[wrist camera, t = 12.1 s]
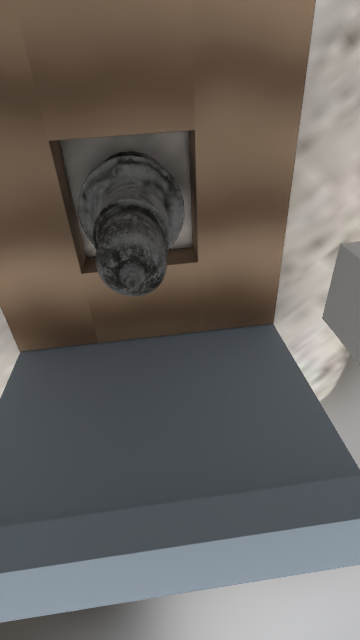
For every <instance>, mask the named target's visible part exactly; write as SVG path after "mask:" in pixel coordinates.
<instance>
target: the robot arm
mask: <svg viewBox="0 0 360 640" xmlns="http://www.w3.org/2000/svg"><path fill="white" fill-rule="evenodd" d="M322 318H323V320H324V321H325V322H326V323H327V325H328V326H329V327H330V328H331V330H332V331H333V332H334V333H335V335H336V336H337V337H338V338H339V339H340V341H341V342H342V343H343V344H344V346H345V347H346V348H347V349H348V351H349V352H350V353H351V354H352V355H353V357H354V358H355V359H356V360H357V362H358V363H359V364H360V242H351V243H341V244H340V247H339V251H338V255H337V259H336V264H335V268H334V272H333V276H332V280H331V284H330V288H329V292H328V296H327V301H326V305H325V309H324V313H323V317H322Z"/></svg>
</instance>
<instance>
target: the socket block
mask: <svg viewBox="0 0 360 640" xmlns="http://www.w3.org/2000/svg"><path fill="white" fill-rule="evenodd" d="M315 3H316V0H0V307H1V309H2V311H3V314H4V316H5V318H6V321H7V323H8V325H9V328H10V330H11V332H12V335H13V337H14V339H15V342H16V344H17V346H18V349H19V351H20V352H22V351H31V350H40V349H48V348H57V347H66V346H75V345H84V344H93V343H102V342H111V341H120V340H129V339H138V338H147V337H156V336H165V335H174V334H183V333H192V332H201V331H209V330H218V329H227V328H236V327H245V326H254V325H263V324H272V323H274V315H275V308H276V300H277V292H278V285H279V277H280V269H281V262H282V254H283V247H284V239H285V231H286V224H287V216H288V208H289V201H290V193H291V186H292V178H293V170H294V163H295V155H296V147H297V140H298V132H299V125H300V117H301V109H302V102H303V94H304V86H305V79H306V71H307V64H308V56H309V48H310V41H311V33H312V25H313V18H314V10H315ZM175 131H189V153H190V183H191V212H192V242H193V248H183V249H173V250H168V252H167V254H166V257H167V270H166V274H165V277H164V279H163V281H162V283H161V284H160V285H159V286H158V287H157V288H156V289H155V290H153V291H152V292H150V293H148V294H145V295H143V296H135V297H131V296H124V295H121V294H118V293H116V292H114V291H113V290H111V289H110V288H108V287H107V286H106V285H105V283H104V282H103V281H102V279H101V278H100V276H99V274H98V270H97V266H96V257H89V258H86V256H85V252H84V247H83V243H82V239H81V235H80V230H79V226H78V222H77V217H76V213H75V209H74V204H73V200H72V196H71V191H70V187H69V183H68V178H67V174H66V170H65V165H64V161H63V157H62V153H61V148H60V144H59V140H67V139H80V138H94V137H107V136H121V135H135V134H148V133H162V132H175Z"/></svg>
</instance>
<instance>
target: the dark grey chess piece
mask: <svg viewBox="0 0 360 640" xmlns="http://www.w3.org/2000/svg"><path fill="white" fill-rule="evenodd" d="M78 213H79V217H80V221H81V225H82V227H83V229H84V231H85V233H86V235H87V237H88V238H89V240H90V241H91V242H92V243H93V244H94V245H95V248H96V250H97V252H96V266H97V270H98V274H99V276H100V278H101V279H102V281H103V282H104V283H105V285H106V286H107V287H108V288H110V289H111V290H113V291H114V292H116V293H118V294H121V295H124V296H131V297H135V296H143V295H145V294H148V293H150V292H152V291H153V290H155V289H156V288H157V287H158V286H159V285H160V284H161V283H162V281H163V279H164V277H165V274H166V270H167V257H166V254H167V252H168V250H169V247H170V246H171V245H172V244H173V243H174V242H175V240H176V239H177V237H178V235H179V233H180V231H181V229H182V225H183V220H184V201H183V198H182V195H181V192H180V189H179V187H178V185H177V184H176V182H175V181H174V179H173V177H172V176H171V175H170V174H169V173H168V172H167V171H166V170H165V169H164V168H163V167H162V166H161V165H160V164H158V163H157V162H156V161H155V160H154V159H152V158H150V157H148V156H146V155H144V154H141V153H136V152H122V153H118V154H116V155H113V156H111V157H109V158H108V159H107V160H105V161H104V162H103V163H101V164H100V165H99V166H98V167H96V168H95V169H94V170H93V171H91V173H90V174H89V176H88V177H87V179H86V180H85V182H84V183H83V186H82V189H81V192H80V195H79V204H78Z"/></svg>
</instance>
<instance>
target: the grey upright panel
mask: <svg viewBox="0 0 360 640" xmlns="http://www.w3.org/2000/svg"><path fill="white" fill-rule="evenodd" d="M354 565H360V469H359V468H358V466H357V464H356V463H355V461H354V459H353V458H352V456H351V454H350V453H349V451H348V449H347V448H346V446H345V444H344V443H343V441H342V439H341V437H340V436H339V434H338V433H337V431H336V429H335V427H334V426H333V424H332V422H331V421H330V419H329V417H328V416H327V414H326V412H325V411H324V409H323V407H322V405H321V404H320V402H319V400H318V399H317V397H316V395H315V394H314V392H313V390H312V389H311V387H310V385H309V384H308V382H307V380H306V379H305V377H304V375H303V374H302V372H301V370H300V368H299V367H298V365H297V363H296V362H295V360H294V358H293V357H292V355H291V353H290V352H289V350H288V348H287V347H286V345H285V343H284V342H283V340H282V338H281V337H280V335H279V333H278V332H277V330H276V328H275V326H274V325H273V323H272V324H263V325H254V326H245V327H236V328H227V329H218V330H209V331H201V332H192V333H183V334H174V335H165V336H156V337H147V338H138V339H129V340H120V341H111V342H102V343H93V344H84V345H75V346H66V347H57V348H48V349H40V350H31V351H22V352H20V354H19V357H18V359H17V361H16V364H15V366H14V368H13V371H12V373H11V375H10V378H9V380H8V382H7V385H6V387H5V389H4V392H3V394H2V396H1V398H0V622H6V621H13V620H19V619H25V618H31V617H37V616H44V615H50V614H56V613H62V612H68V611H75V610H81V609H87V608H93V607H99V606H106V605H112V604H118V603H124V602H131V601H137V600H143V599H149V598H156V597H162V596H168V595H174V594H180V593H187V592H192V591H199V590H205V589H212V588H218V587H224V586H230V585H236V584H242V583H249V582H255V581H261V580H267V579H274V578H280V577H286V576H292V575H299V574H305V573H311V572H317V571H323V570H329V569H336V568H341V567H348V566H354Z"/></svg>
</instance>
